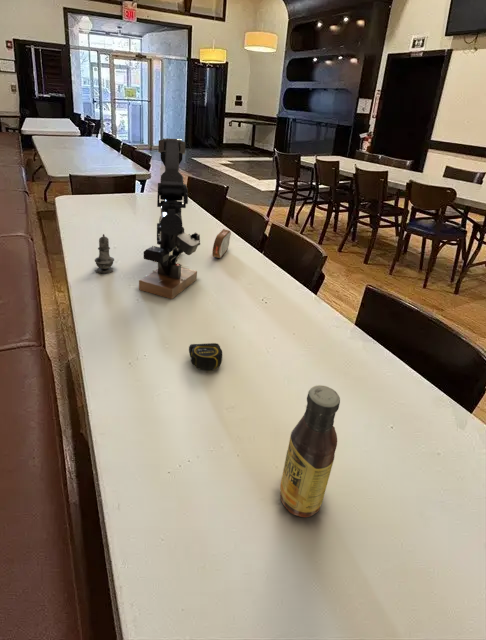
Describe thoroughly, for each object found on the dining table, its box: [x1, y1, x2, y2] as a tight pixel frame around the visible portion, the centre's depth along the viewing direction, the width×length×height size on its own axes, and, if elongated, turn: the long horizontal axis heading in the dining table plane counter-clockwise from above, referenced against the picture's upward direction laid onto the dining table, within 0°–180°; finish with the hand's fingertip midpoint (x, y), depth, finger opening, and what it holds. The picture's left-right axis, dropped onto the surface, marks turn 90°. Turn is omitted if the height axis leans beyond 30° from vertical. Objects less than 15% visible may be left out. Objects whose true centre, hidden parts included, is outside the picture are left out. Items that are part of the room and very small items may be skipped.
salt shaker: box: [94, 233, 115, 275], centre depth 127 cm, size 6×6×12 cm
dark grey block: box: [157, 262, 182, 279], centre depth 122 cm, size 7×2×4 cm, turn 66°
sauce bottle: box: [279, 384, 341, 518], centre depth 57 cm, size 6×6×20 cm
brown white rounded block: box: [211, 228, 232, 259], centre depth 149 cm, size 15×3×8 cm, turn 164°
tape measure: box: [188, 342, 223, 371], centre depth 88 cm, size 7×7×4 cm
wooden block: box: [138, 266, 198, 300], centre depth 123 cm, size 15×11×3 cm
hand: (169, 273), depth 122 cm, fingers closed on dark grey block, 2 cm apart
